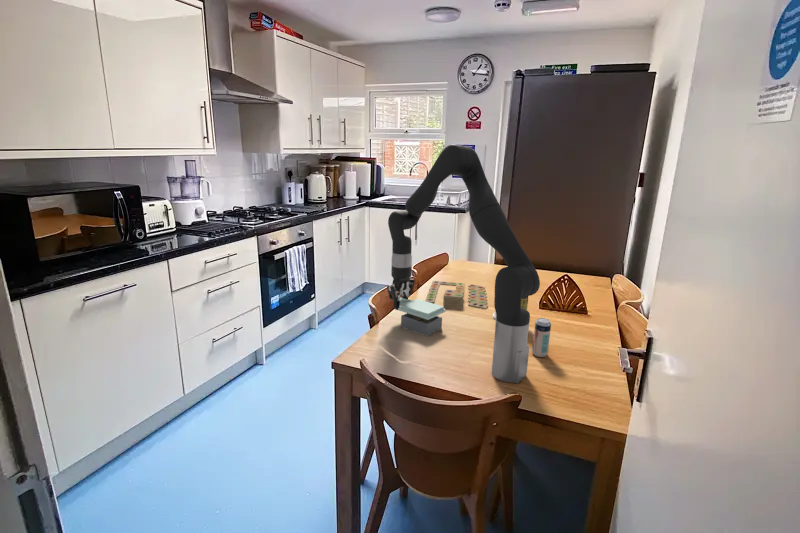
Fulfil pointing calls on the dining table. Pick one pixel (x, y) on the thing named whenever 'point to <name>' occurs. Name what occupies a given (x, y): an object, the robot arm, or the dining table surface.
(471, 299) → the pile of dominoes
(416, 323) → the tub
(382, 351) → the dining table surface
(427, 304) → the lid
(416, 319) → the walnut block
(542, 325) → the beer can
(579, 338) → the dining table surface
